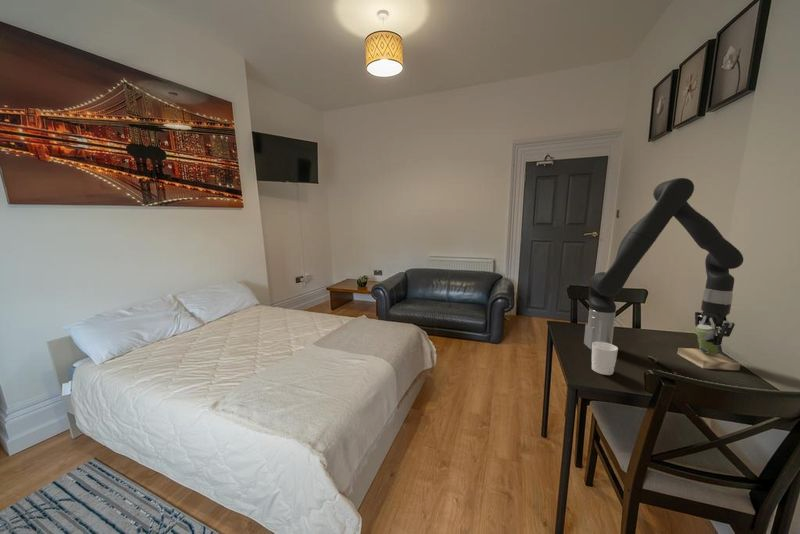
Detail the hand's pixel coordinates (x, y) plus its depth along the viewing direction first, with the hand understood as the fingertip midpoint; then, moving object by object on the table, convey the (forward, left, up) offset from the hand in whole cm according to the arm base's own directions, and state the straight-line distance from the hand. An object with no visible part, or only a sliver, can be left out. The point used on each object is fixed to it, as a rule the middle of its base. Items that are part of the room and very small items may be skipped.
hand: (709, 341), depth 111 cm
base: (0, 0, -9) cm, 9 cm away
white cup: (-45, -13, -9) cm, 48 cm away
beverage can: (+1, +1, -5) cm, 5 cm away
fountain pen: (-20, -6, -9) cm, 23 cm away
